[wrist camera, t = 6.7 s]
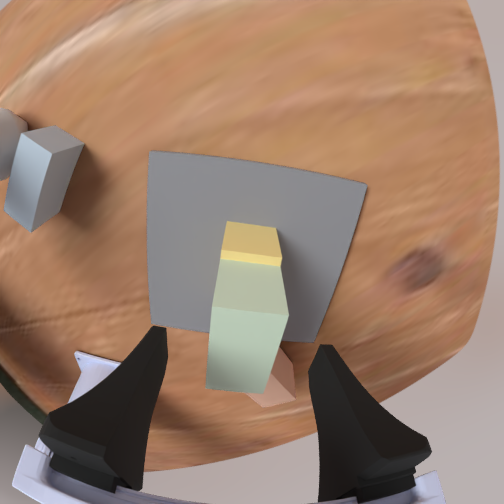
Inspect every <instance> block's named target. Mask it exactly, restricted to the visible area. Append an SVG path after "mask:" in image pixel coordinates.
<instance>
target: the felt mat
mask: <svg viewBox="0 0 504 504" xmlns="http://www.w3.org/2000/svg"><path fill="white" fill-rule="evenodd" d="M366 189H367V184H365V183H362V182H358V181H354V180H349V179H345V178H340V177H336V176H331V175H327V174H322V173H317V172H312V171H307V170H302V169H297V168H291V167H286V166H280V165H274V164H268V163H262V162H255V161H248V160H241V159H234V158H226V157H218V156H209V155H200V154H190V153H179V152H167V151H153V150H152V151H150V152H149V166H148V187H147V264H148V285H149V301H150V314H151V324H156V325H161V326H167V327H173V328H179V329H185V330H192V331H199V332H206V333H210V323H211V312H212V303H213V297H214V292H215V286H216V280H217V275H218V269H219V264H220V257H221V249H222V244H223V238H224V233H225V228H226V223H227V221H230V222H238V223H245V224H252V225H259V226H266V227H273V228H276V230H277V235H278V240H279V245H280V249H281V254H282V261H281V265H280V267H281V273H282V278H283V284H284V290H285V295H286V301H287V307H288V313H289V317H288V320H287V323H286V326H285V330H284V333H283V336H282V339H281V341H292V342H308V343H314V341H315V338H316V336H317V333H318V331H319V328H320V326H321V324H322V321H323V318H324V316H325V313H326V311H327V308H328V306H329V303H330V300H331V298H332V295H333V292H334V290H335V287H336V284H337V281H338V278H339V276H340V273H341V270H342V267H343V264H344V261H345V258H346V255H347V252H348V249H349V246H350V243H351V240H352V237H353V234H354V230H355V227H356V224H357V220H358V217H359V214H360V210H361V207H362V203H363V200H364V196H365V193H366Z"/></svg>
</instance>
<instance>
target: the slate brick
mask: <svg viewBox="0 0 504 504" xmlns="http://www.w3.org/2000/svg"><path fill="white" fill-rule="evenodd" d="M84 144H85V143H83V142H81V141H80V140H78V139H77V138H75V137H73V136H72V135H70V134H68V133H67V132H65V131H64V130H62V129H60V128H59V127H57V126H56V125H55V126H50V127H45V128H41V129H36V130H32V131H28V132H24V133H21V136H20V140H19V143H18V146H17V150H16V154H15V157H14V161H13V165H12V169H11V174H10V178H9V183H8V188H7V194H6V199H5V205H4V211H5V212H6V213H7V214H8V215H10V216H11V217H12V218H13V219H14V220H16V221H17V222H18V223H19V224H21V225H22V226H23V227H24V228H26V229H27V230H28V231H29V232H33V231H34V230H35V229H37V228H38V227H39V226H41V225H42V224H43V223H45V222H46V221H48V220H49V219H50V218H52V217H53V216H55V215H56V214H57V213H59V212H60V209H61V206H62V202H63V199H64V196H65V193H66V190H67V187H68V184H69V182H70V179H71V176H72V173H73V171H74V168H75V166H76V163H77V160H78V158H79V155H80V153H81V151H82V148H83V146H84Z"/></svg>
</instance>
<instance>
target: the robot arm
mask: <svg viewBox="0 0 504 504" xmlns="http://www.w3.org/2000/svg"><path fill="white" fill-rule="evenodd" d="M74 355H75V357H76V360H77V362H78V365H79V367H80V369H81V372H82V373H81V375H80V377H79V380H78V382H77V384H76V386H75V388H74V390H73V393H72V395H71V397H70V399H69V402H68V404H66V405H64V406H62V407H60V408H58V409H56V410H54V411H52V412H50V413H49V414H48V416H47V418H46V419H45V421H44V423H43V426H42V428H41V431H40V433H39V439H38V441H37V443H36V445H35V448H33V447H31V446H30V445H25V448H24V450H23V453H22V456H21V458H20V461H19V464H18V467H17V470H16V473H15V476H14V479H13V482H12V486H13V487H15V488H17V489H18V490H20V491H21V492H23V493H25V494H26V495H28V496H30V497H31V498H33V499H35V500H37V501H38V502H40V503H42V504H206V503H197V502H190V501H183V500H177V499H172V498H166V497H161V496H156V495H151V494H147V493H143V492H139V491H140V490H141V489H142V485H143V472H144V462H145V454H146V446H147V440H148V433H149V428H150V422H151V418H152V414H153V410H154V407H155V404H156V401H157V397H158V394H159V391H160V388H161V385H162V382H163V378H164V375H165V370H166V365H167V360H168V348H167V332H166V328H164V327H158V326H152V327H151V328H150V330H149V331H148V333H147V334H146V335H145V336H144V338H143V339H142V340H141V341H140V343H139V344H138V345H137V346H136V347H135V349H134V350H133V351H132V352H131V353H130V354H129V355H128V357H127V358H126V359H125V360H124V361H123V362H122V363H120V362H116V361H112V360H108V359H104V358H100V357H97V356H93V355H90V354H86V353H83V352H80V351H76V352H75V354H74ZM308 374H309V389H310V394H311V399H312V404H313V409H314V414H315V419H316V424H317V430H318V439H319V457H320V459H319V460H320V475H319V477H320V478H319V495H318V503H310V504H446V501H445V498H444V494H443V491H442V487H441V484H440V481H439V477H438V475H437V471H436V470H434V471H432V472H429V473H426V474H423V475H421V476H418V477H416V478H414V476H413V474H414V473H416V470H415V466H416V465H418V464H419V463H421V462H422V461H424V460H425V459H426V458H428V457H429V456H430V454H431V452H432V451H431V448H430V445H429V442H428V440H427V438H426V437H425V436H423V435H421V434H420V433H418V432H416V431H414V430H412V429H411V428H409V427H408V426H406V425H405V424H403V423H402V422H400V421H399V420H398V419H396V418H395V417H394V416H393V415H391V414H390V413H389V412H388V411H387V410H385V409H384V408H383V407H382V406H381V405H380V404H379V403H378V402H377V401H376V400H375V399H374V398H373V397H372V396H371V395H370V394H369V393H368V392H367V390H366V389H365V388H364V387H363V386H362V385H361V383H360V382H359V381H358V380H357V378H356V377H355V376H354V375H353V373H352V372H351V371H350V369H349V368H348V366H347V365H346V364H345V362H344V361H343V359H342V358H341V357H340V355H339V354H338V352H337V351H336V350H335V348H334V347H333V345H322V344H320V347H319V349H318V351H317V353H316V355H315V358H314V360H313V362H312V364H311V366H310V368H309V371H308Z"/></svg>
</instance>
